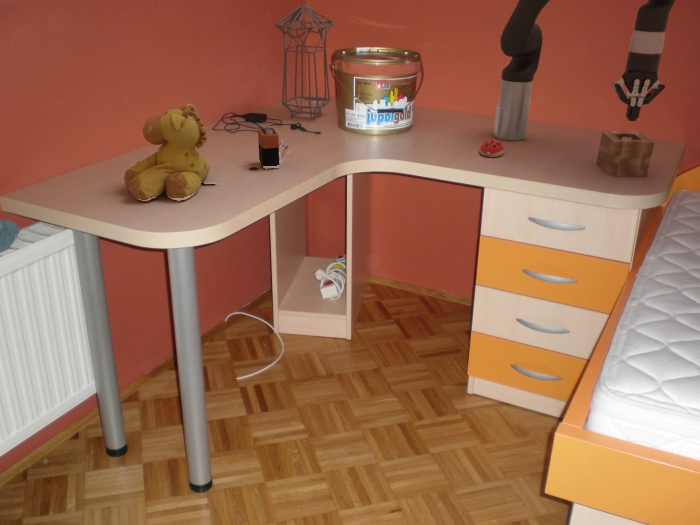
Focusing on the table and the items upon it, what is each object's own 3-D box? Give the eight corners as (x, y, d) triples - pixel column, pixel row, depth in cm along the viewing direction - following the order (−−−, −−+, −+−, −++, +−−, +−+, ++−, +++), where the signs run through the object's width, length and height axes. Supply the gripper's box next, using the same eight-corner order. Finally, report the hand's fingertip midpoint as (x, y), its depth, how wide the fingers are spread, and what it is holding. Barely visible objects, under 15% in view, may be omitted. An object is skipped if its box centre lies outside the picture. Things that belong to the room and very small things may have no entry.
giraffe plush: (120, 181, 160) (109, 101, 152) (215, 169, 169) (210, 94, 161) (134, 209, 144) (122, 122, 135) (239, 195, 153) (234, 112, 144)
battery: (275, 161, 176) (273, 124, 172) (280, 168, 170) (278, 130, 166) (258, 162, 175) (257, 125, 171) (263, 170, 169) (261, 131, 165)
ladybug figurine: (505, 150, 190) (506, 138, 188) (501, 160, 181) (502, 147, 180) (481, 148, 191) (483, 136, 190) (476, 157, 183) (478, 145, 181)
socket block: (607, 175, 170) (614, 141, 166) (596, 163, 179) (602, 131, 175) (646, 176, 170) (654, 142, 166) (633, 164, 179) (640, 132, 175)
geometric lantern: (336, 113, 225) (336, 4, 210) (317, 124, 212) (316, 8, 197) (294, 109, 230) (292, 1, 215) (273, 119, 217) (269, 5, 202)
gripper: (666, 48, 164) (651, 117, 172) (613, 47, 165) (600, 116, 172) (679, 53, 157) (663, 124, 165) (623, 51, 158) (609, 123, 166)
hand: (631, 120), depth 169 cm, fingers closed
